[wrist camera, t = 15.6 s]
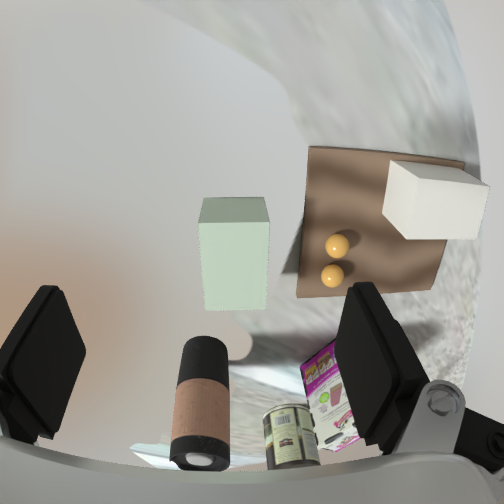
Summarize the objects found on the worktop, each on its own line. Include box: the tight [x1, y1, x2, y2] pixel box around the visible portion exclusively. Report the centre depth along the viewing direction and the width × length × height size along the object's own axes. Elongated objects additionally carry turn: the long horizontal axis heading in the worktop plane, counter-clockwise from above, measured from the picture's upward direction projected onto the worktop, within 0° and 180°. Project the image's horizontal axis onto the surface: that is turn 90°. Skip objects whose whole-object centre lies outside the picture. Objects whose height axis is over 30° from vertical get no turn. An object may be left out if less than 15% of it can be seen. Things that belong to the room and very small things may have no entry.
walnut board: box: [296, 146, 464, 298], centre depth 40 cm, size 20×22×1 cm
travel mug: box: [169, 336, 230, 472], centre depth 42 cm, size 8×8×20 cm
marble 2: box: [321, 264, 344, 288], centre depth 41 cm, size 3×3×3 cm
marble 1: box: [325, 234, 349, 258], centre depth 39 cm, size 3×3×3 cm
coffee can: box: [262, 404, 321, 470], centre depth 56 cm, size 10×10×14 cm
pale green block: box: [198, 197, 270, 310], centre depth 37 cm, size 11×7×7 cm, turn 179°
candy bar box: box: [300, 339, 360, 452], centre depth 45 cm, size 11×5×16 cm, turn 140°
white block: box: [382, 160, 490, 239], centre depth 34 cm, size 11×7×7 cm, turn 89°
